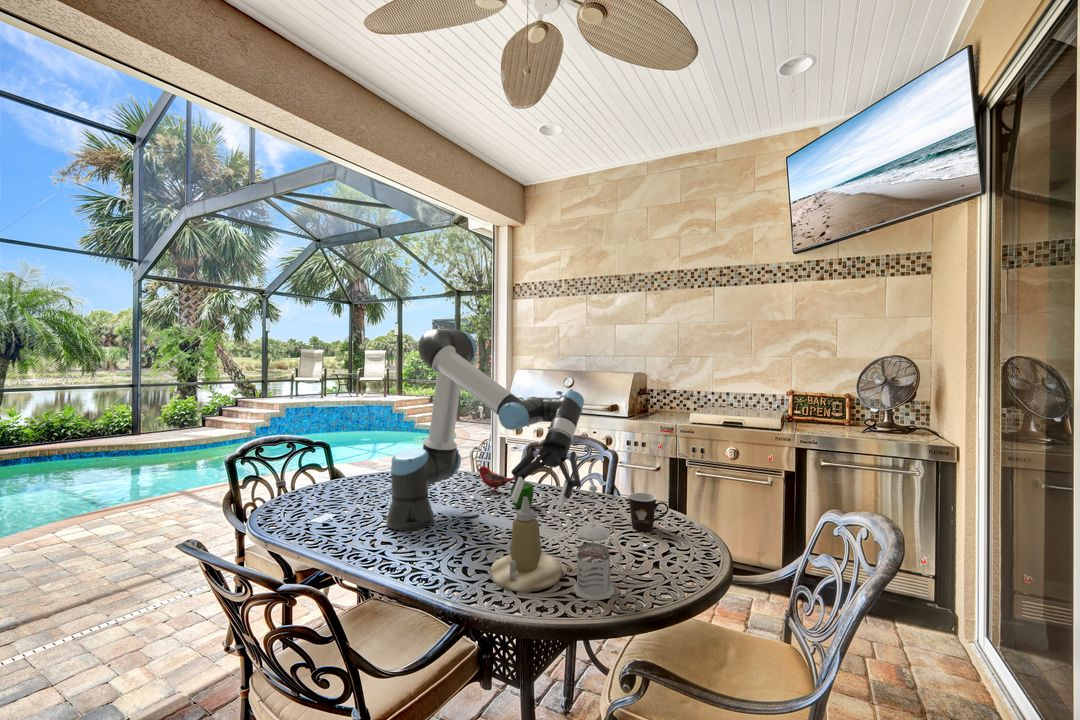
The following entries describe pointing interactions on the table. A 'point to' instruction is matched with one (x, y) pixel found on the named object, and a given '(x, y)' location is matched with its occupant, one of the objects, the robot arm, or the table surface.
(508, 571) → the round beige plate
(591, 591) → the french press
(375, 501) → the table surface
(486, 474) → the decorative bird figurine
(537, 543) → the squeeze bottle
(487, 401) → the robot arm
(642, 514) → the coffee mug
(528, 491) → the bell pepper
